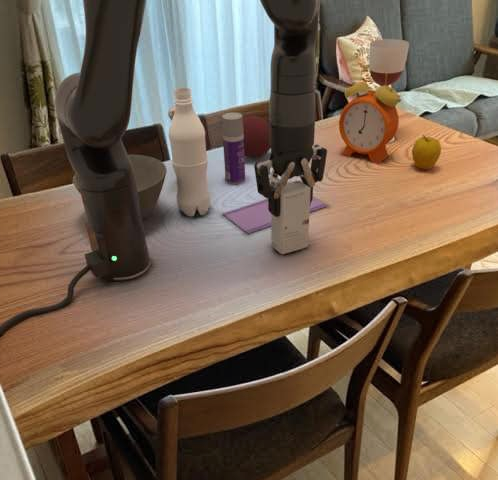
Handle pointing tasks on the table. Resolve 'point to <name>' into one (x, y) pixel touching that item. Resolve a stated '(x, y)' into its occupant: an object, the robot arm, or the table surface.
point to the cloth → (259, 215)
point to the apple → (426, 152)
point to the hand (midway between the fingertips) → (290, 209)
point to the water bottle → (189, 155)
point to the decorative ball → (255, 137)
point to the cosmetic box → (291, 218)
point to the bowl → (145, 180)
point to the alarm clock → (369, 120)
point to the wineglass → (387, 60)
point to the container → (233, 148)
